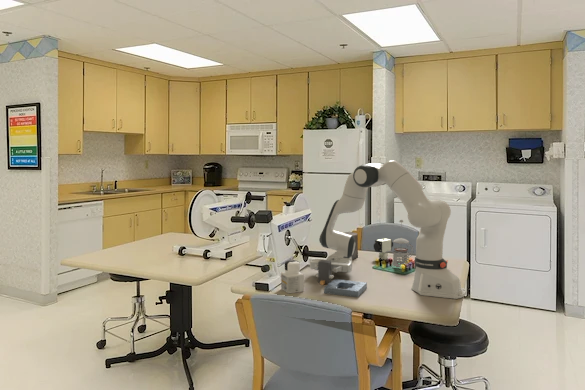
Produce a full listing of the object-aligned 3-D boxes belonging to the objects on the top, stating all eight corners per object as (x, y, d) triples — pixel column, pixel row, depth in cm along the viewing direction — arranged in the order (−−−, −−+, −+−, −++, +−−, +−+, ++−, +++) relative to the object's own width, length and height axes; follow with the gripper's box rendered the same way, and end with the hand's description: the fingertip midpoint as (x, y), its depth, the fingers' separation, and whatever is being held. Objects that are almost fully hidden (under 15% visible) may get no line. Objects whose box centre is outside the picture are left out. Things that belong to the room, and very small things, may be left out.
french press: (387, 265, 244) (388, 218, 242) (407, 264, 247) (408, 217, 245) (396, 270, 235) (397, 221, 232) (417, 268, 237) (417, 220, 235)
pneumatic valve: (393, 258, 261) (393, 237, 260) (379, 261, 254) (379, 239, 253) (385, 256, 265) (386, 235, 264) (371, 259, 258) (372, 238, 257)
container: (281, 289, 205) (280, 260, 203) (297, 286, 208) (296, 258, 206) (287, 293, 198) (287, 264, 196) (304, 291, 201) (303, 262, 199)
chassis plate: (334, 284, 211) (334, 279, 210) (366, 288, 205) (366, 282, 204) (324, 293, 198) (324, 287, 198) (358, 297, 192) (358, 291, 192)
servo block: (318, 280, 218) (318, 259, 217) (334, 282, 214) (334, 261, 213) (313, 283, 212) (313, 262, 211) (330, 285, 209) (330, 264, 208)
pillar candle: (350, 254, 271) (350, 229, 270) (361, 257, 263) (361, 231, 262) (337, 256, 266) (337, 231, 265) (348, 260, 258) (347, 233, 257)
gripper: (315, 254, 231) (304, 260, 218) (354, 258, 222) (346, 264, 210) (315, 267, 231) (304, 274, 219) (354, 271, 223) (346, 278, 210)
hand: (325, 269), depth 214 cm, fingers open, 8 cm apart
